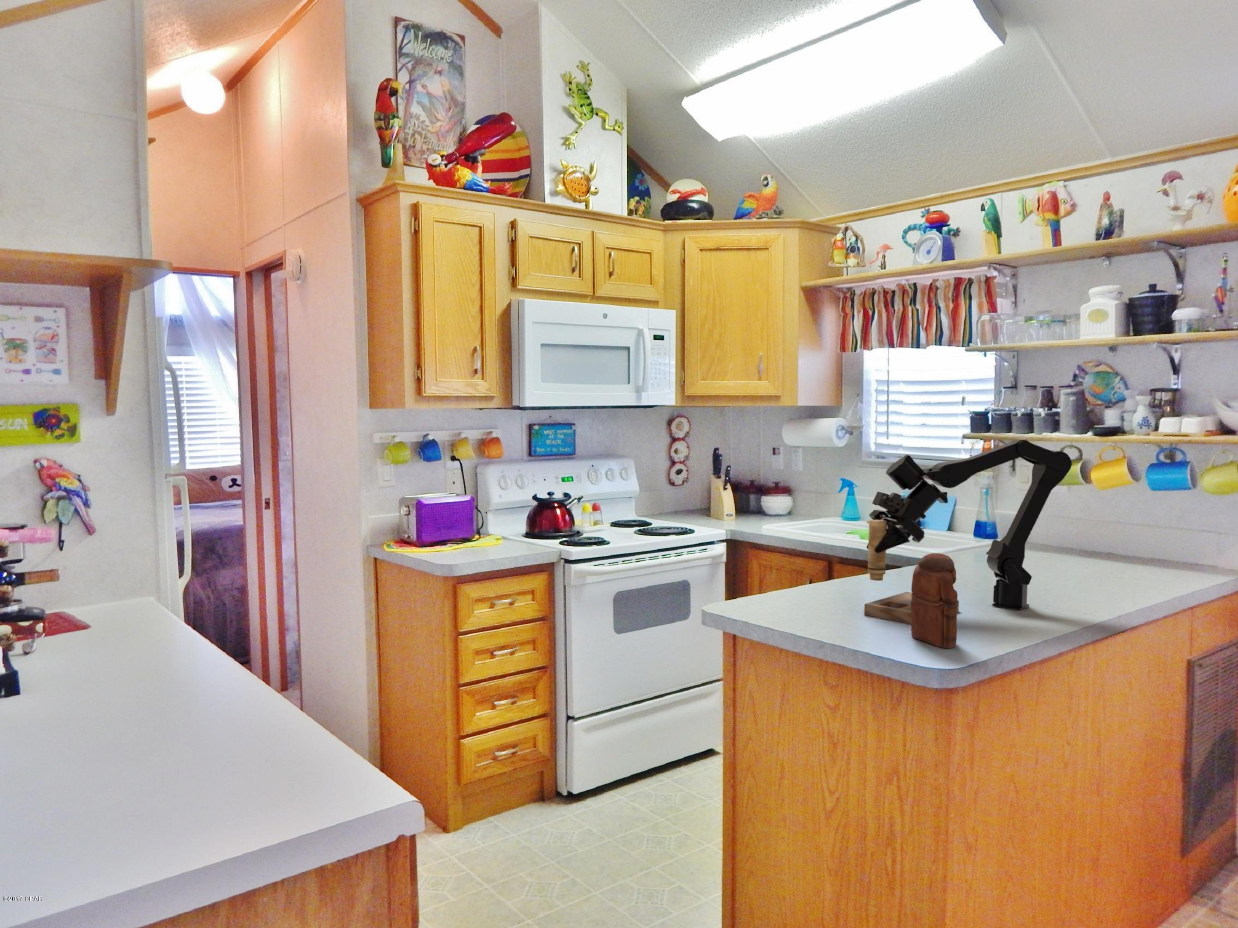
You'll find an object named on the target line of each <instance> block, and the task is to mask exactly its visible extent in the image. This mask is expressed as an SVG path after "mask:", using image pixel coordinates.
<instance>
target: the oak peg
mask: <svg viewBox="0 0 1238 928" xmlns="http://www.w3.org/2000/svg"><path fill="white" fill-rule="evenodd" d="M886 525H887V521H883V520H872V519H871V520H870V519H869V520H868V543H869V544H868V543H867V545H868V549H867V551H868V552H867V553H868V554H867V556H868V557H867V573H868V575H869V580H871V581H878V582H880V581H883V580H884V576H885V575H886V566H887V565H886V562H887V561H886V560H887V559H886V557H887V556H886V555H887V550H885V551H883V552H880V553H876V552H875V551H874V549H875V548H876V546H877V545H878V544H879V542H880V541H881V540H882V538H883V537H884V536H885V534H886Z"/></svg>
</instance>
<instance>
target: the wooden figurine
mask: <svg viewBox="0 0 1238 928" xmlns="http://www.w3.org/2000/svg"><path fill="white" fill-rule="evenodd" d="M956 581H957V570H956V568H955V562H954V560H953V559H952V558H951V557H950V556H949V555H947V554H943V553H940V552H939V553H937V552H931V553H928V554H925V555H924V556H923V557H921V558H920V560H919V561H918V564H917V565H916V566H915V568H914V569H913V572H912V580H911V593H912V594H911V597H912V599H911V624H910V626H911V629H910V631H911V632H910V633H911V636H912V637H913V638H914V639H916V640H920V641H921V642H924V643H928V644H930V645H934V646H935V647H939V648H940V647H941V649H946V648H948V649H952V648H955V647H956V645H957V639H958V638H957V635H958V628H957V627H958V624H957V623H958V622H957V621H958V618H957V617H958V611H957V605H956V603H957V600H958V595H959V594H958V591H957V590H956V589H955V588H954V584H955V583H956Z"/></svg>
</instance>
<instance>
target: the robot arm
mask: <svg viewBox="0 0 1238 928" xmlns="http://www.w3.org/2000/svg"><path fill="white" fill-rule="evenodd" d="M1019 458H1020V459H1023V461H1025V462H1028V463H1029V464H1032V465H1033V466H1032V470H1031V482H1030V486H1029V488H1028V489H1027V491H1026V493H1025V496H1024V497H1023V499H1022V501H1021V504H1020V506H1019V508H1018V510H1017V511H1016V513H1015V516H1014V518H1013V519H1012V522H1011V524H1010V526H1009V528H1008V530H1007V533H1006V534H1005V535H1004V536H1003V537H1002V538H1001V540H998V539H996V538H994V539H992V542H991V545H990V548H989V550H988V551H986V553H985V555H987V557H986V563H987V567H988V568H989V569H990V570H991V571H992V572H993V575H994V577H995V578H996V579H995V584H994V586H993V596H992V597H993V598H992V602H993V603H992V604H991V606H992V607H997V608H1005V609H1008V610H1009V609H1010V610H1016V611H1021V610H1024V609H1027V608H1029V607H1030V604H1028V585H1030V584H1031V581H1032V578H1033V576H1032V575H1031V574H1030V573H1029V572H1028V571H1027V570H1026V569H1025V567H1024V566H1023V564H1024V561H1025V557H1026V555H1025V554H1026V544H1027V541H1028V539H1029V536H1030V535H1031V533H1032V531H1033V529H1034V527H1035V525H1036V523H1037V521H1038V519H1039V517H1040V515H1041V512H1042V511H1043V509H1044V507H1045V505H1046V502H1047V500H1048V498H1049V496H1050V494H1051V492H1052V491H1053V490H1054V488H1056V487H1057V486H1058V485H1059V484H1060V483H1061V482H1063V480H1064V479H1065V477H1066V476H1067V475H1068V473H1070V471H1071V469H1072V466H1073V462H1072V460H1071V457H1070V456H1069V455H1068V454H1067V452H1065V451H1061V450H1051V449H1047V448H1045V447H1042V446H1041V445H1037V444H1034V443H1032V442H1030V440H1027V439H1019V438H1018V439H1013V440H1012V441H1009V442H1007V443H1005V444H1002V445H999V446H997V447H994V448H991V449H989V450H986V451H984V452H981V453H980V452H979V453H978V454H974V455H973V456H970V457H967V458H966V457H965V458H962V459H961V458H960V459H953V460H947V461H942V462H938V463H935V464H934V465H933V466H931V467H930V468H922V467H920V466H919V464H918V463H916V462H915V460H914V458H912V456H911V455H910V454H905V455H904V456H903V457H901V458H900V459H898V460H897V461H895V462H893V463H892V464H890V466H889V467H888V468H887V469H886V472H885V474H886V475H887V476H888V477H889V478H890V479H891V481H893V482H894V483H895V484H896V485H897V486H898V487H899V488H900V489H901V490H902V491H903V490H908V491H910V492H909V493H908V494H907V495H906V497H902V495H901V494H900V493H897V492H891V493H890V494H888V493H885V492H882V491H877V492H876V494H875V496H874V498H873V501H872V505H874V506H878V507H880V508H882V509H884V510H885V511H884V510H881V509H873V510H872V511H871V512H870V513H869V514H868V516H869V518H870V519H871V520H883V521H887V525H886V534H885V536H884V537H883V538H882V540H881V541H880V542H879V544H878V545H877V546H876V548H875V549H874V551H875V552H876V553H880V552H883V551H885V550H886V551H887V550H890V549H892V548H895V547H897V546H901V545H903V544H907V543H908V544H909V543H910V542H911V541H913V542H914V543H917V544H920V542H921V541H922V540H923V539H924V538H925V530H924V529H923V528H922V527H921V526H920V525H919V524H918V523H917V522H918V521H920V520H925V518H926V517H927V515H926V514H925V513H927V511H929V509H930V508H931V507H932V506H933V505H935V504H936V502H937V501H938V502H939V503H940V504H948V503H949V500H948V492H947V491H941V490H940V489H939V488H938V487H942V488H946V489H953V488H956V487H957V486H959V485H961V484H963V483H964V482H966V481H968V480H969V479H970V478H971V477H972V476H974V475H976V474H978V473H981V472H984V471H986V470H989V469H992V468H994V467H997V466H1000V465H1002V464H1006V463H1009V462H1011V461H1014V460H1017V459H1019ZM927 480H930V481H931V482H933V483H929V482H928V481H927ZM911 490H912V491H911ZM910 537H912V539H911V540H910V539H909V538H910ZM868 544H869V542H868V543H867V545H866V549H867V550H868Z"/></svg>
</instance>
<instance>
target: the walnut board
mask: <svg viewBox="0 0 1238 928" xmlns="http://www.w3.org/2000/svg"><path fill="white" fill-rule="evenodd" d="M911 594H912V591H905V592H901V593H898V594H894V595H892V596H887V597H885V598H881V599H877V600H873V601H870V602H866V603H864V607H863V608H864V610H863V611H864V613H863V615H865V616H869V617H873V618H879V619H885V620H889V621H894V622H895V621H896V622H898V623H904V624H909V625H911V599H912V597H911ZM956 605H957V612H959V607H960V606H959V605H960V600H958V599H957V603H956Z"/></svg>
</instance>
